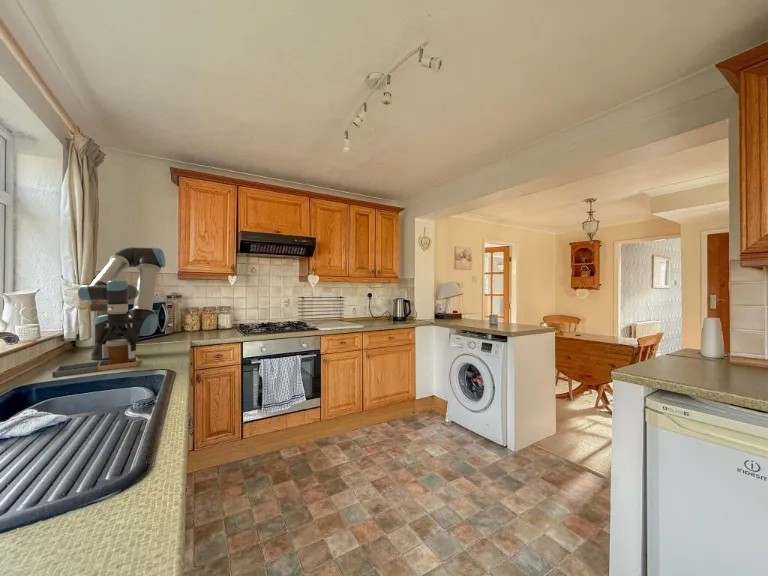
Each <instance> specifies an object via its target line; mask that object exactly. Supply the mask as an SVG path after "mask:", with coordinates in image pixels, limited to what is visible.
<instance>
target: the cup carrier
mask: <svg viewBox="0 0 768 576" xmlns="http://www.w3.org/2000/svg"><path fill="white" fill-rule="evenodd" d="M129 361H133V362H129ZM139 361H140V360H139V356H135V358H131V359H129V358H128V363H121V364H113V365H110V362H109V359H104V360H95V361H89V362H81V363H73V364H64V365H63V364H62V365H58V366H56V367H55V369H54V370H53V371H52V378H56V376H58V377H63V375H65V376H71V375H70V374H73V375H78V374H77V373H81V374H83V373H82V372H88V373H91V372H90V371H96V372H100V371H99V370H103V371H108V370H107V369H111V370H115V369H114V368H119V369H124V368H123V367H126V368H130V367H129V366H134V367H137V366H136V365H139V366H140V364H139ZM105 364H108V365H105ZM90 366H92V367H90ZM82 367H84V368H82ZM75 368H76V369H75ZM67 369H68V370H67Z"/></svg>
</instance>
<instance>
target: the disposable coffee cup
mask: <svg viewBox="0 0 768 576" xmlns="http://www.w3.org/2000/svg"><path fill="white" fill-rule="evenodd" d="M129 344H130V343H129V342H128V341H127V339H126V338H124V339H117V340H110V341H107V342H106V344H105V345H106V346H107V350H108V356H109V359H108V360H109V362H110V364H109V365H113V364H121V363H129V362H128V345H129Z"/></svg>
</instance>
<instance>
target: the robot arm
mask: <svg viewBox="0 0 768 576" xmlns="http://www.w3.org/2000/svg"><path fill="white" fill-rule="evenodd" d="M165 266H166V257H165V253H164V251H163V250H162V248H159V247H132V246H131V247H126V248H123V249H120V250H118V251H116V252H115V253H113V254H112V255H111V256H110V257H109V259H108V263H107V264H106V265H105V266H104V268H103V269H102V270H101V272H100V273H99V274H98V275H97V276H96V277H95V279H93V281H92V282H91V283H90V284H89V285H88V284H86V285H80V286H79V287H78V289H77V296H78V299H79V300H81V301H88V302H89V301H90V302H93V301H94V302H97V301H107V314H102V315H98V316H96V317H95V320H94V321H95V322H94V337H95V340H94V341H95V343H94V347H93V349H92V351H91V354H90V355H91V356H90V359H91V360H93V361H105V360H109V356H108V350H107V346H106V345H105V344H106V342H107V341H110V340H117V339H127V341H128V342H129V343H130V344H129V345H128V358H129V359H131V358H135V357H136V351H137V344H138V343H140V342H141V340H140V338H139V337H141V336H142V337H143V336H144V337H145V336H151V335H153V334H154V333H155V332H156V330H157V328H158V325H159V317H158V314H156V312H155V311H154V309H153V305H154V298H155V292H156V284H157V276H158V273H160V272H161V270H162V268H165ZM129 268H136V270H138V271H139V272H138V277H137V283H136V286H134V285H131V284H128V283H129V282H128V281H127V280H119V277H120V276H121V274H123V272H124V271H126V270H128V269H129ZM131 300H134V302H133V307H132V308H131V309H129V301H131Z"/></svg>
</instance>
